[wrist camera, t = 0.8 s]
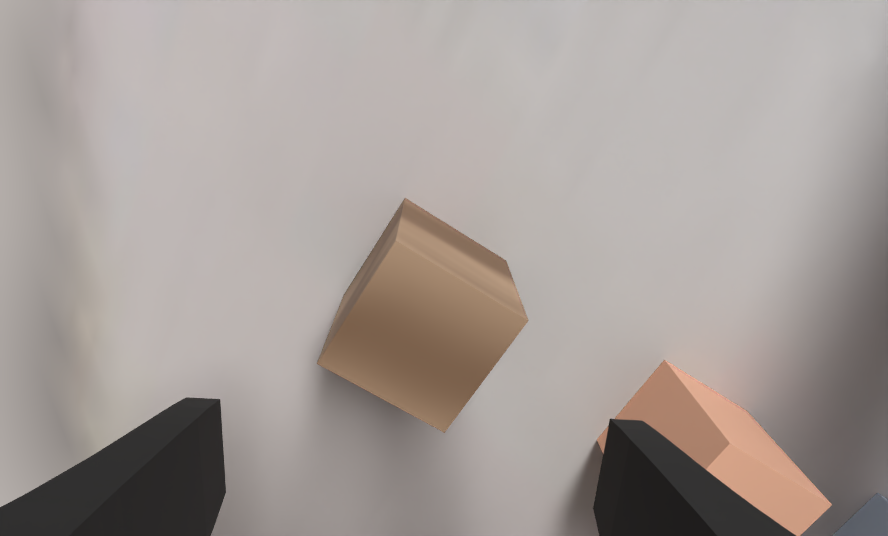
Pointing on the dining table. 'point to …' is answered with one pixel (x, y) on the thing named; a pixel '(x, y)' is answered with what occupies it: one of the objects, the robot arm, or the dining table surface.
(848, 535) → the slate blue brick
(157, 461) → the robot arm
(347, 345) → the walnut brick
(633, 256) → the dining table surface
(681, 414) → the terracotta brick
